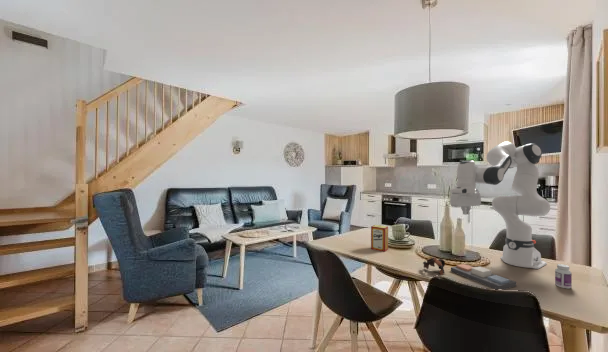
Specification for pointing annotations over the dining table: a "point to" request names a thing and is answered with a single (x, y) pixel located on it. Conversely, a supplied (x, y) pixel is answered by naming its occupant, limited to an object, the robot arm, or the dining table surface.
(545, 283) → the dining table surface
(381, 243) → the baking soda box
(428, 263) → the brown black arched toy
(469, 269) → the terracotta button
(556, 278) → the pill bottle
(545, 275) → the dining table surface
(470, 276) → the button panel
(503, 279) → the slate button
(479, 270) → the cream button
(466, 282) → the dining table surface
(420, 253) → the dining table surface
